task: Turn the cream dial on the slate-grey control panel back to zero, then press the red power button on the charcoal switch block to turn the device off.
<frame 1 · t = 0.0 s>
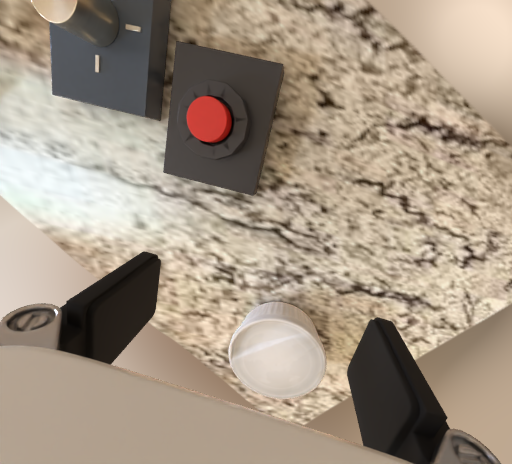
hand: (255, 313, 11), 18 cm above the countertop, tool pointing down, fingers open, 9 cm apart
switch block: (223, 125, 26), on the countertop
control panel: (120, 35, 25), on the countertop
ramekin: (279, 329, 33), on the countertop
dial: (76, 5, 20), point 5 cm above the countertop, hinge at 90.0°
power button: (209, 120, 22), point 4 cm above the countertop, slide at 0.1 cm
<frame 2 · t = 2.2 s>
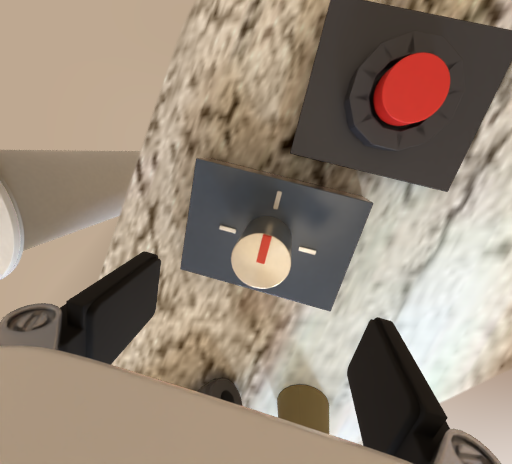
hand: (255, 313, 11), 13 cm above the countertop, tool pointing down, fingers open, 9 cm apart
flashlight: (191, 404, 32), on the countertop
cork: (302, 402, 30), on the countertop
switch block: (383, 105, 19), on the countertop
control panel: (270, 228, 23), on the countertop
dial: (264, 250, 18), point 5 cm above the countertop, hinge at 90.0°
power button: (408, 92, 15), point 4 cm above the countertop, slide at 0.1 cm
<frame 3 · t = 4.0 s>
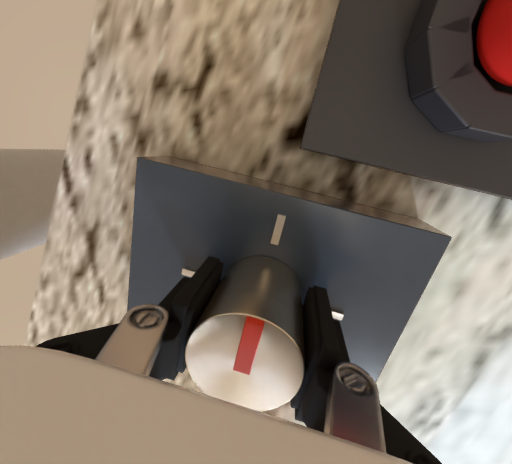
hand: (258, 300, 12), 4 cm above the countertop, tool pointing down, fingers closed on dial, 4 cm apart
switch block: (465, 62, 11), on the countertop
control panel: (267, 266, 15), on the countertop
dial: (253, 324, 10), point 5 cm above the countertop, hinge at 89.9°, touching gripper
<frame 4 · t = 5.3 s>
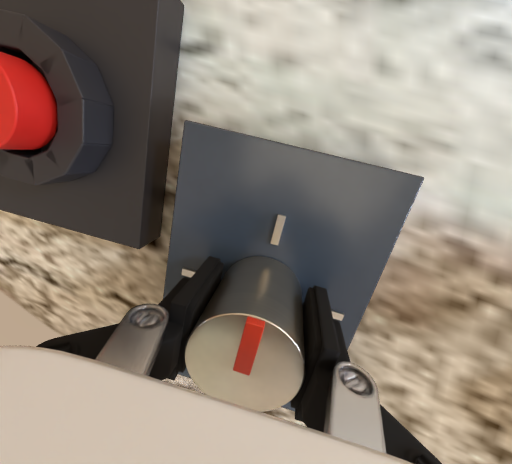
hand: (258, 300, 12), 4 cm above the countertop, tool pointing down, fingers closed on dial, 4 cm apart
switch block: (87, 117, 14), on the countertop
control panel: (267, 266, 15), on the countertop
dial: (252, 324, 10), point 5 cm above the countertop, hinge at -0.5°, touching gripper
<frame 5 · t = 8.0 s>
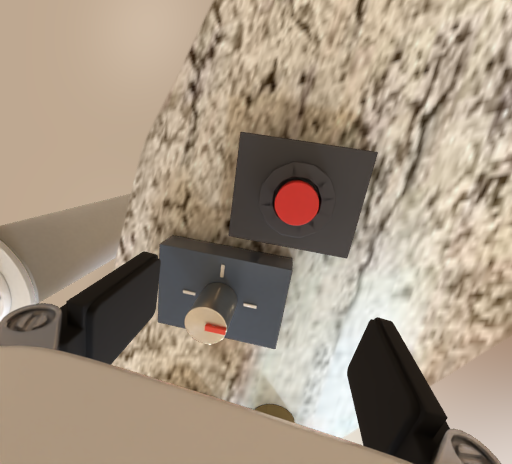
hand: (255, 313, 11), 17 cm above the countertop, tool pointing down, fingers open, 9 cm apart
cork: (273, 418, 35), on the countertop
switch block: (296, 194, 25), on the countertop
control panel: (226, 284, 30), on the countertop
dial: (212, 312, 25), point 5 cm above the countertop, hinge at 0.5°
power button: (296, 202, 21), point 4 cm above the countertop, slide at 0.1 cm
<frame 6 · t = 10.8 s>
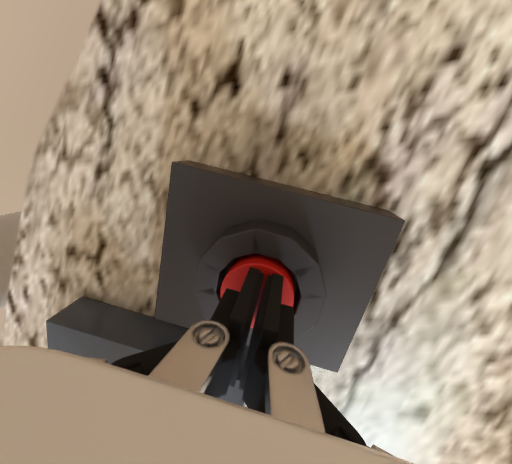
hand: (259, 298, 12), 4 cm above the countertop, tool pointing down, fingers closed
switch block: (265, 260, 16), on the countertop
control panel: (160, 370, 20), on the countertop
power button: (258, 288, 13), point 4 cm above the countertop, slide at -0.8 cm, touching gripper
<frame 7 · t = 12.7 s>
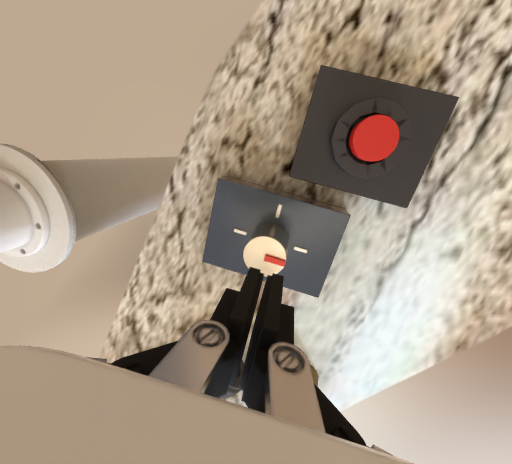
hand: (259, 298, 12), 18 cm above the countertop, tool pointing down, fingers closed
switch block: (360, 141, 25), on the countertop
control panel: (273, 232, 30), on the countertop
dial: (267, 248, 25), point 5 cm above the countertop, hinge at 0.5°
power button: (372, 139, 21), point 4 cm above the countertop, slide at 0.1 cm
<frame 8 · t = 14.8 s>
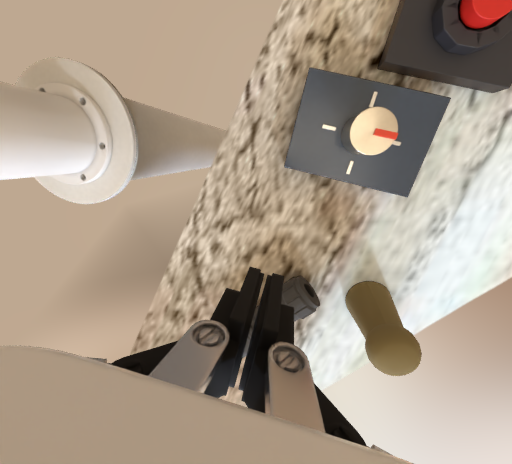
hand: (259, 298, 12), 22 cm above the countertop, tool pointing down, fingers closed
flashlight: (267, 307, 38), on the countertop
cork: (367, 299, 35), on the countertop
switch block: (457, 24, 25), on the countertop
control panel: (354, 136, 29), on the countertop
dial: (367, 133, 24), point 5 cm above the countertop, hinge at 0.5°
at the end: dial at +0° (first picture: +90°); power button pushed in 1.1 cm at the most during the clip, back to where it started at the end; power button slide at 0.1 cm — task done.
